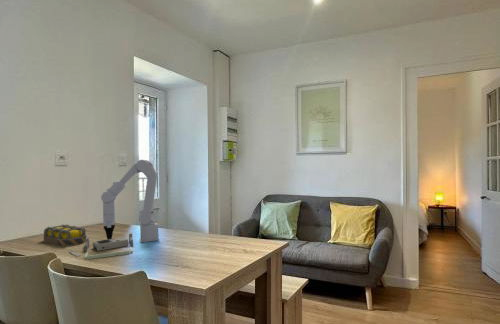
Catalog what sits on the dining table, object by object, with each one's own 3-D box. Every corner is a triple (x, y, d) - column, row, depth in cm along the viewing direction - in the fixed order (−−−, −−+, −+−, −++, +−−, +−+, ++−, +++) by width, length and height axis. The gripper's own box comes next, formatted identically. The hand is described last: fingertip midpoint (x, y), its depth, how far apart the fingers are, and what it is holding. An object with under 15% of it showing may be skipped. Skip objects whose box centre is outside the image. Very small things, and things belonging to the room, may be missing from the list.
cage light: (65, 223, 194) (91, 227, 177) (66, 236, 194) (91, 241, 177) (38, 227, 182) (63, 232, 165) (39, 241, 182) (63, 247, 165)
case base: (132, 241, 174) (132, 232, 174) (133, 246, 162) (133, 237, 162) (85, 246, 165) (85, 237, 165) (83, 252, 153) (83, 242, 153)
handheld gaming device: (128, 246, 163) (128, 239, 163) (97, 252, 154) (97, 244, 154) (122, 243, 170) (122, 236, 170) (92, 249, 161) (92, 241, 161)
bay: (131, 249, 156) (131, 246, 156) (132, 253, 148) (132, 250, 148) (85, 254, 148) (85, 251, 148) (84, 259, 140) (84, 256, 140)
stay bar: (72, 252, 154) (72, 250, 154) (80, 257, 146) (80, 254, 146) (68, 253, 153) (68, 251, 153) (77, 257, 145) (77, 255, 145)
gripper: (101, 212, 177) (101, 237, 177) (100, 216, 164) (100, 242, 164) (114, 211, 180) (115, 235, 180) (115, 215, 167) (115, 241, 167)
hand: (109, 239), depth 172 cm, fingers closed
